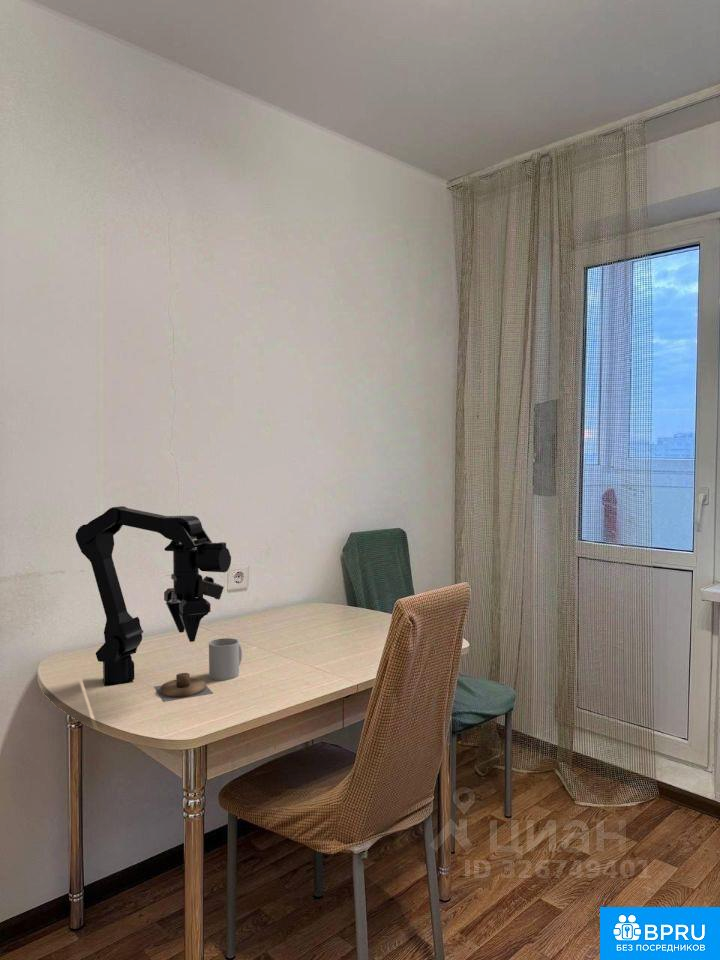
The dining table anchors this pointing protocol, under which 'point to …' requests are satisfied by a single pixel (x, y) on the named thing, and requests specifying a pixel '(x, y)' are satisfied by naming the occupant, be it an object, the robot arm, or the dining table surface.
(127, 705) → the dining table surface
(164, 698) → the mat
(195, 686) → the lid
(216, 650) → the cup
